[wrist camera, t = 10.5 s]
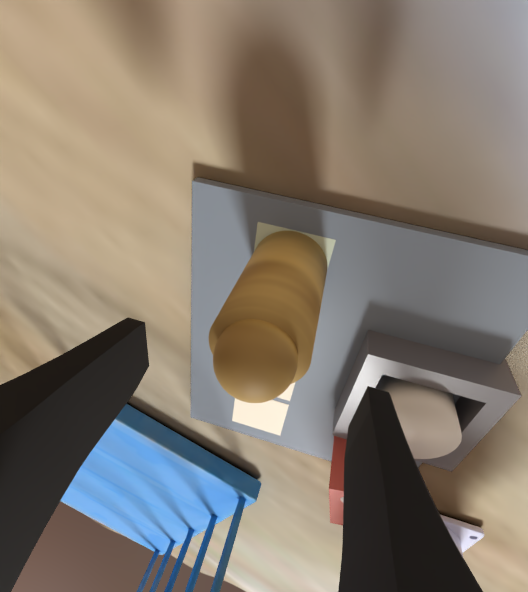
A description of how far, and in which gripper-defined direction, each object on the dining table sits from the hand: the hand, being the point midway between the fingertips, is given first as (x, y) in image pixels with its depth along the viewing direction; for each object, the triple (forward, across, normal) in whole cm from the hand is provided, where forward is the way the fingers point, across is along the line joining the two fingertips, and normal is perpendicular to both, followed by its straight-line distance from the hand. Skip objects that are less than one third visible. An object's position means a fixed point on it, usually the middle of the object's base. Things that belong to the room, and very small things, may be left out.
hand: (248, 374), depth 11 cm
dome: (+7, -8, +6) cm, 12 cm away
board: (+8, -3, +6) cm, 10 cm away
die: (+7, -7, +12) cm, 16 cm away
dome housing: (+8, -8, +6) cm, 13 cm away
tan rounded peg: (+7, 0, 0) cm, 7 cm away
